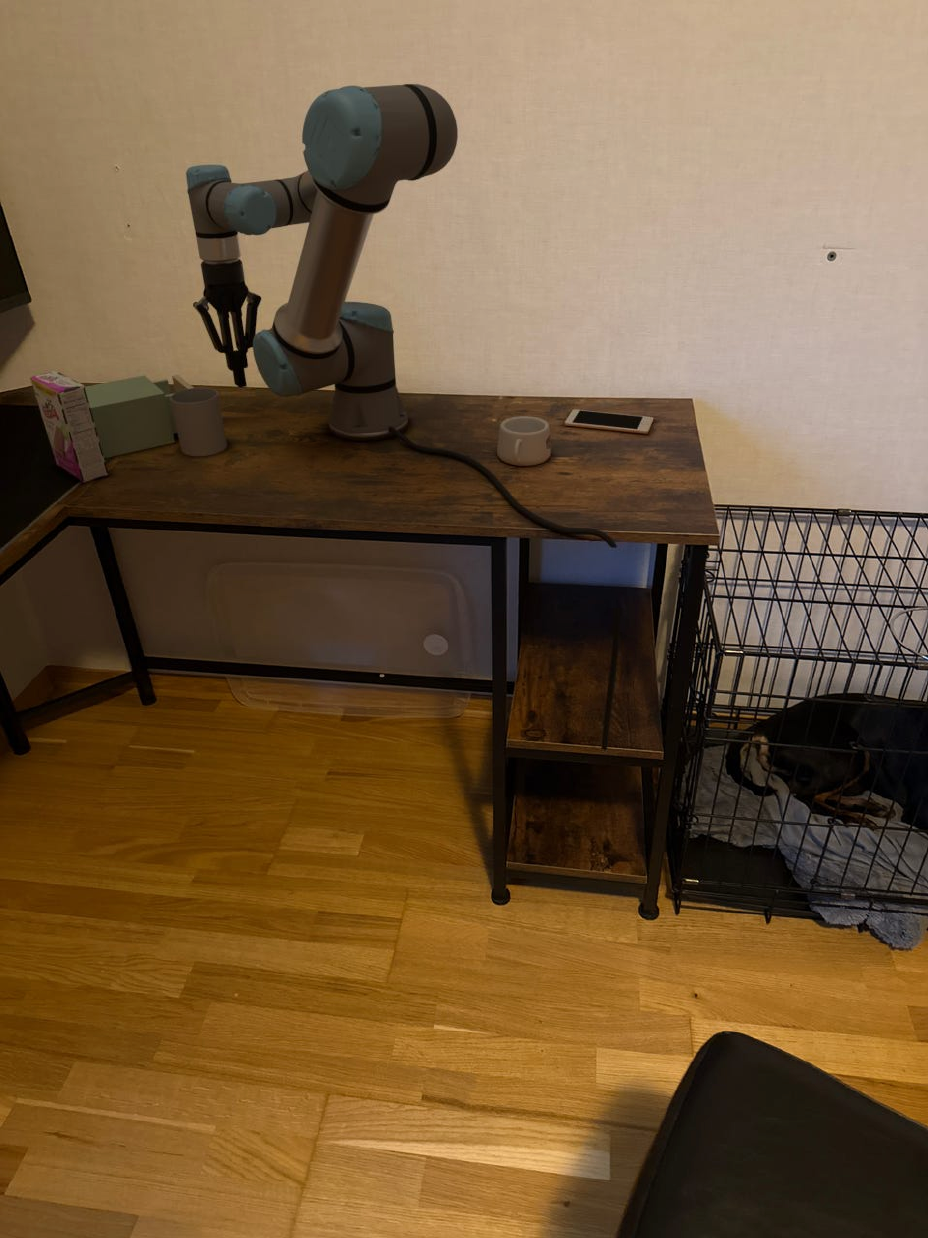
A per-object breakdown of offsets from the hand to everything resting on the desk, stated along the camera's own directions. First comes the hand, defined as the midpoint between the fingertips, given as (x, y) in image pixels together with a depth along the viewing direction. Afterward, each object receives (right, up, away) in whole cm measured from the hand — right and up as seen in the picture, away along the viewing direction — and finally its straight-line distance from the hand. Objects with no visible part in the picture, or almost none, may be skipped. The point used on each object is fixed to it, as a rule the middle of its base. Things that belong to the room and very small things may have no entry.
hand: (240, 384), depth 172 cm
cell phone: (+73, -9, -4) cm, 74 cm away
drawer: (-12, -9, -4) cm, 16 cm away
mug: (+55, -18, -18) cm, 61 cm away
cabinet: (-20, -13, -8) cm, 25 cm away
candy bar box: (-23, -21, -19) cm, 36 cm away
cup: (-4, -15, -11) cm, 19 cm away
